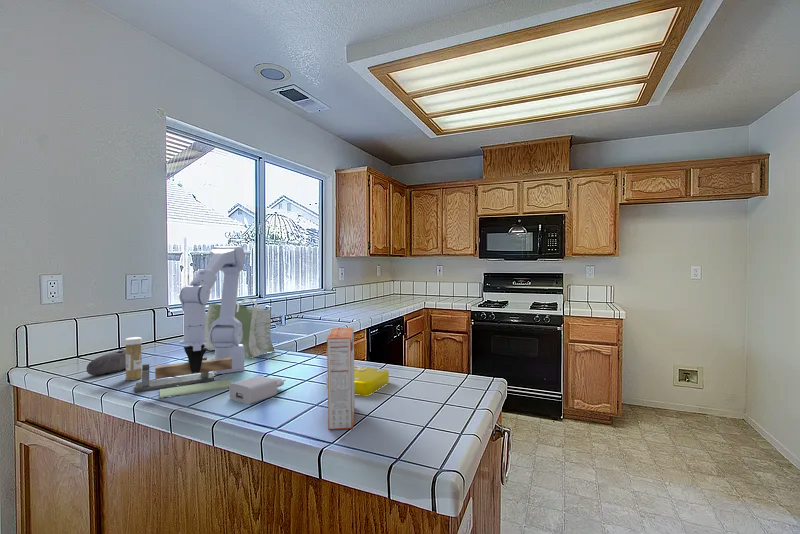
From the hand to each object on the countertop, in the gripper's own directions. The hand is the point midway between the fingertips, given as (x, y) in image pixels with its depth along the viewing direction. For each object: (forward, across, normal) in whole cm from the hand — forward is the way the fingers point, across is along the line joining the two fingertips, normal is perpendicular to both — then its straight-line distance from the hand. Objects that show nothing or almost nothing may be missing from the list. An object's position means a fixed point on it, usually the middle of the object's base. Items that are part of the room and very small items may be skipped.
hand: (195, 370), depth 115 cm
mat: (+6, 0, 0) cm, 6 cm away
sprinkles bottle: (+6, -23, -16) cm, 29 cm away
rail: (0, 0, 0) cm, 0 cm away
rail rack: (+6, -10, -4) cm, 12 cm away
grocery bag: (+6, -49, +21) cm, 54 cm away
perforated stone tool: (+6, -37, -23) cm, 44 cm away
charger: (+6, +15, +16) cm, 23 cm away
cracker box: (+6, +44, +28) cm, 52 cm away
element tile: (+6, +24, +42) cm, 49 cm away
